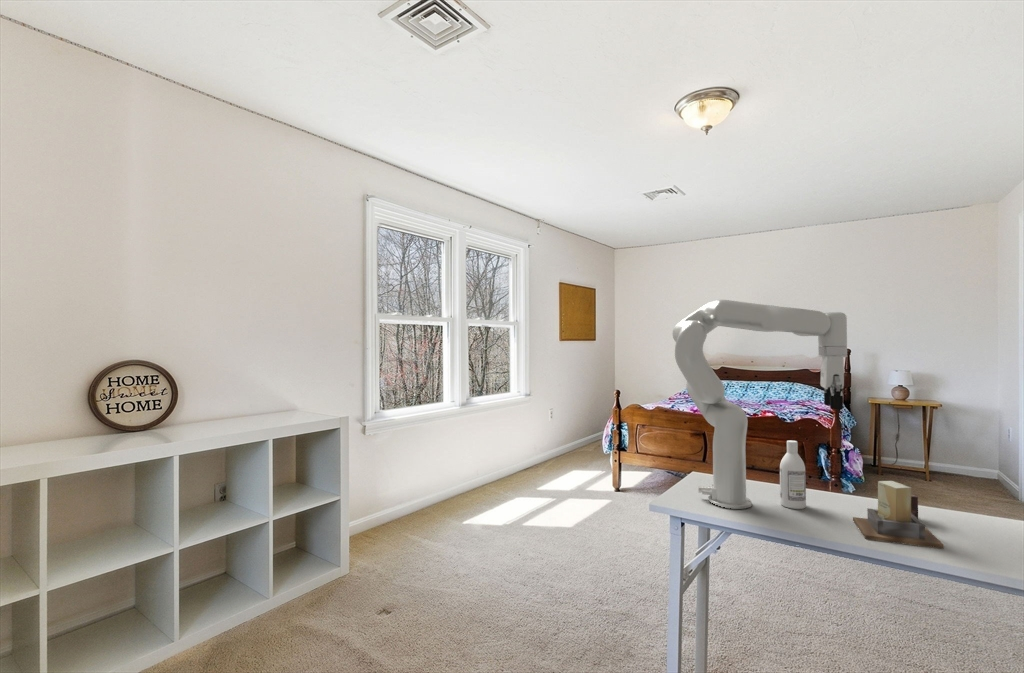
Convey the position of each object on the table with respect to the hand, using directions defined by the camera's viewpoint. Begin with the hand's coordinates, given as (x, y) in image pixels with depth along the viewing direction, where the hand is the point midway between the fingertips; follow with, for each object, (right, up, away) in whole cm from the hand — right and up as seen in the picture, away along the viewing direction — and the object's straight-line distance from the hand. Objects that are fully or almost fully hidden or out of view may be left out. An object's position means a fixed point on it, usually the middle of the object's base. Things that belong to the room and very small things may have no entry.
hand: (833, 407), depth 156 cm
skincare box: (+1, -29, -23) cm, 38 cm away
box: (+11, -30, -12) cm, 35 cm away
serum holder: (+1, -30, -23) cm, 38 cm away
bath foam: (-13, -31, -1) cm, 33 cm away
